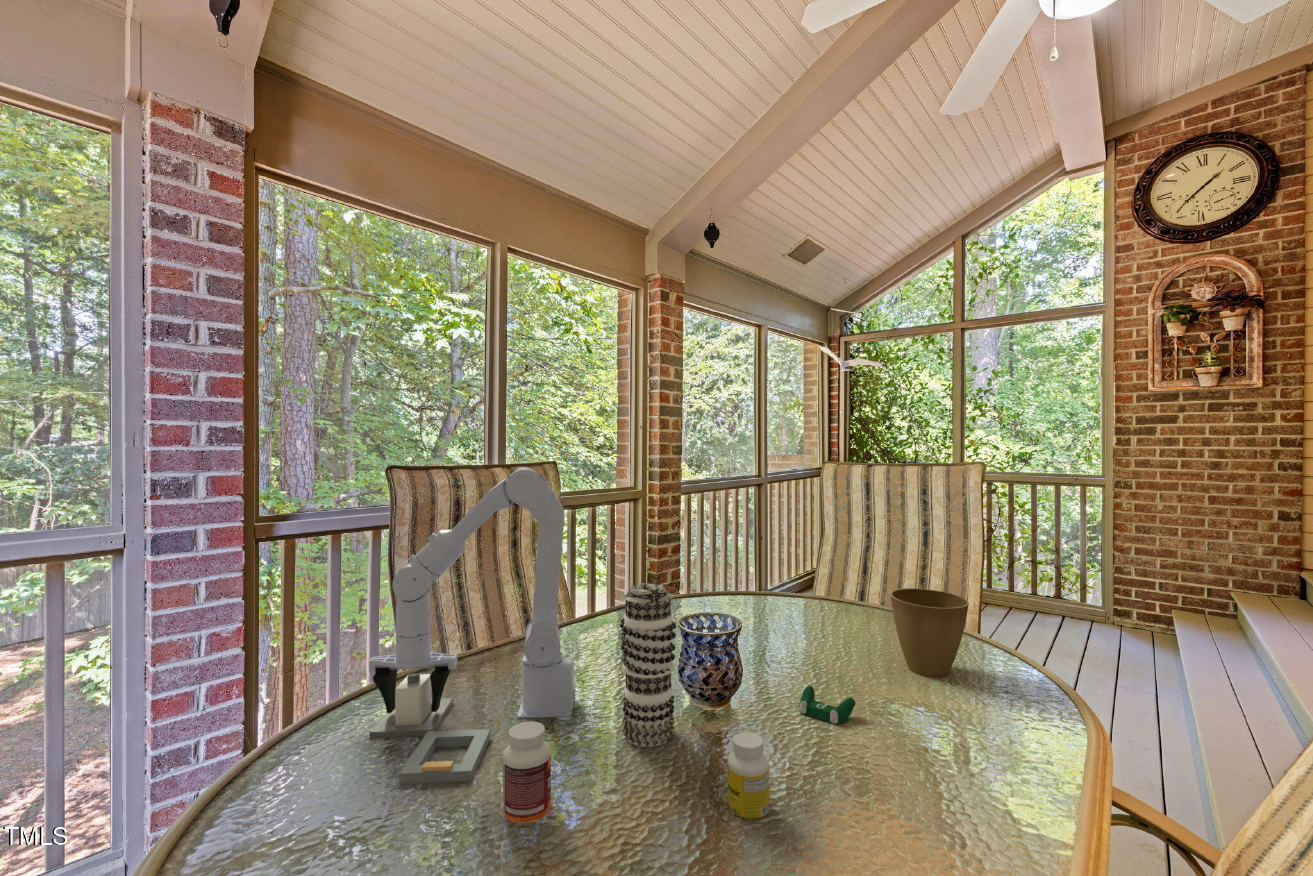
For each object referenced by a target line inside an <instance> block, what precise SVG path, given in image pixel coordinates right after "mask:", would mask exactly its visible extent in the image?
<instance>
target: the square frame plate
mask: <svg viewBox="0 0 1313 876" xmlns="http://www.w3.org/2000/svg"><path fill="white" fill-rule="evenodd" d="M453 700H454V698H453V697H448V698H445V697H444V698H442V697H441V701H440V707H439V709H438V710H437V712H432V711H431V712H430V714H429V715H428V716H427V718H426V719H425V721H424V722H423V723H422V725H396V726H395V725H394V724H395V709H394V710H393V711H392V713H387V712H385V714H384V715H383V716H382V717H380V719H379V720H378V721H377V723H376V724H375V725H374V727H372V729H371V730H370V731H369V738H370V739H374V738H375V739H377V738H378V739H379V738H401V737H424V736H425V734H426V733H427V731H437V730H436V729H437V728H438V727H439V725H440V723H441V722H442V721H443V719H444V718H445V716H446V714H447V713H448V712H449V710H450V709H451V707H452V706H453V704H454V703H453V702H454V701H453ZM431 710H432V698H431Z"/></svg>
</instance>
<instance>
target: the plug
mask: <svg viewBox="0 0 1313 876" xmlns="http://www.w3.org/2000/svg"><path fill="white" fill-rule="evenodd" d="M430 675H431V673H427V674H424V673H423V674H420V673H410V674H407V676H406V677H404V679H403V680H402V681H401V682H400V683H399V684H398V685H397V686H396V689H395V723H394V724H395V725H394V726H396V725H423V724H424V723H425V722H426V720H427V719H428V717H429V716H430V714H431V713H432V709H431V699H432V686H431V680H430Z"/></svg>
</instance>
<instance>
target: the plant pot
mask: <svg viewBox="0 0 1313 876" xmlns="http://www.w3.org/2000/svg"><path fill="white" fill-rule="evenodd" d="M890 601H891V609H892V614H893V620H894V626H895V630H896V633H897V637H898V640H899V645H900V647H901V651H902V654H903V657H904V661H905V663H906V665H907V669H908V670H909V671H910V672H912V673H913V674H916V675H919V676H923V677H927V678H944V677H947V676H948V675H949V674H950V672H951V669H952V667H953V665H954V661H955V659H956V656H957V654H958V651H959V648H960V646H961V641H962V639H963V636H964V635H963V634H964V630H965V627H966V621H967V617H968V613H969V612H968V611H969V604H970V601H969V600H968V599H967V598H965V597H963V596H960V595H958V594H954V593H951V592H946V591H942V590H937V589H930V588H929V589H928V588H911V587H910V588H907V587H906V588H898V589H894V590H893V591H891V592H890Z"/></svg>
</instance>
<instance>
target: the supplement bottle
mask: <svg viewBox="0 0 1313 876" xmlns="http://www.w3.org/2000/svg"><path fill="white" fill-rule="evenodd" d="M727 790H728V791H727V804H728V805H727V807H728V810H729V811H730V812H731V813H732V815H734V816H735V817H737V818H740V819H743V820H749V821H750V820H751V821H752V820H753V821H756V820H760V819H762V818H765V817H766V816H767V815H768V814H769V813H770V811H771V810H770V806H771V803H770V802H771V801H770V799H771V798H770V762H769V759H768V757H767V756H766V754H765V753H764V740H763V738H762V736H760V735H759V734H757V733H754V732H747V731H746V732H745V731H744V732H739V733H736V734H735V735H734V736H733V737H732V752H731V753H730V754H729V755H728V757H727Z"/></svg>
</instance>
